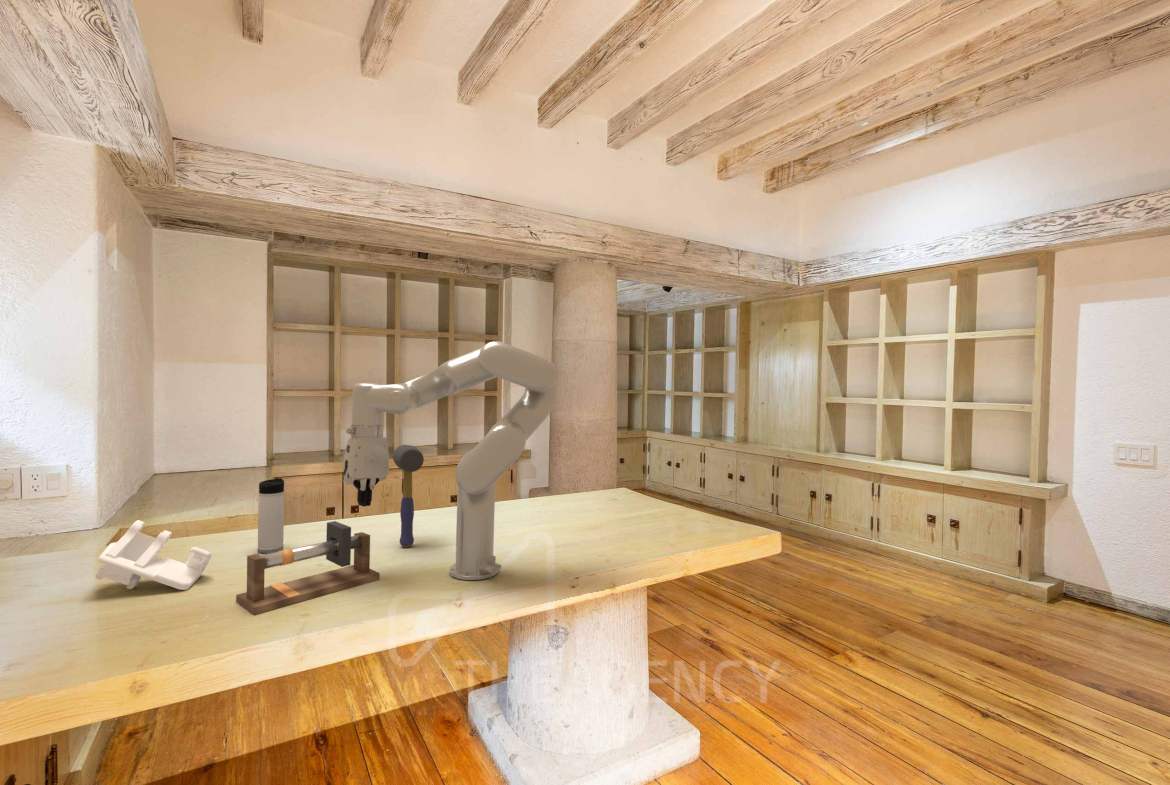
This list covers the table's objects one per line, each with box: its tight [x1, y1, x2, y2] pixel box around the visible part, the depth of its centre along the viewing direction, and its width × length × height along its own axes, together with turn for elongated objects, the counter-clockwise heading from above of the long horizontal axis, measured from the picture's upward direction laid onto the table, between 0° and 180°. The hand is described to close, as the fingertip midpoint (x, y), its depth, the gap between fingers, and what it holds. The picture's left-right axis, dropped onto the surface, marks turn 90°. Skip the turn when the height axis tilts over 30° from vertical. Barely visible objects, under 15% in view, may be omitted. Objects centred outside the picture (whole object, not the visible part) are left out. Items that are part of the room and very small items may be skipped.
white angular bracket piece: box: [95, 519, 212, 591], centre depth 125 cm, size 20×11×13 cm, turn 110°
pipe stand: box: [235, 531, 381, 616], centre depth 125 cm, size 28×10×11 cm, turn 141°
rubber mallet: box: [392, 444, 425, 548], centre depth 159 cm, size 12×8×30 cm, turn 29°
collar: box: [325, 520, 352, 568], centre depth 130 cm, size 2×8×9 cm, turn 51°
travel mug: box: [257, 477, 285, 555], centre depth 152 cm, size 6×7×20 cm
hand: (364, 505), depth 135 cm, fingers closed
